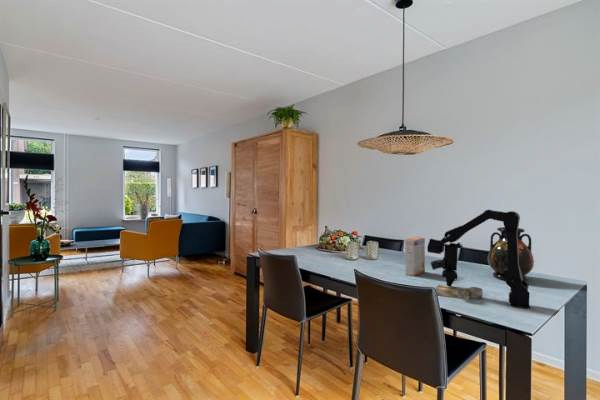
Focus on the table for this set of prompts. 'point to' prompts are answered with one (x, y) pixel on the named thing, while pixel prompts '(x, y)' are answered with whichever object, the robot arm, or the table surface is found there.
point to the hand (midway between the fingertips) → (448, 288)
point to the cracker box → (415, 256)
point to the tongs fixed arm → (453, 292)
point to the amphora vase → (500, 254)
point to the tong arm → (473, 291)
